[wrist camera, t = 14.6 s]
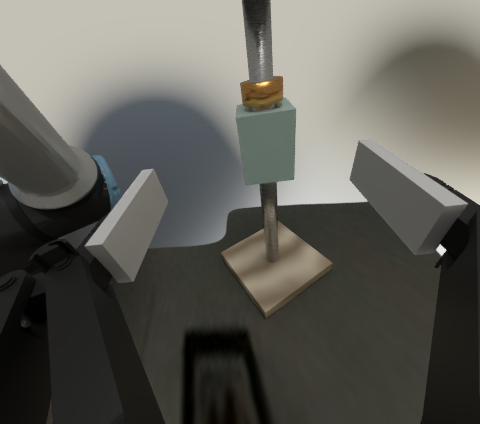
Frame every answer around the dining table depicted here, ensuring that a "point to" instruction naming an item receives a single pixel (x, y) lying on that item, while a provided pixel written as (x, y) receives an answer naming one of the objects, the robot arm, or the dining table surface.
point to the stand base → (275, 268)
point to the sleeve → (267, 142)
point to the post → (262, 101)
